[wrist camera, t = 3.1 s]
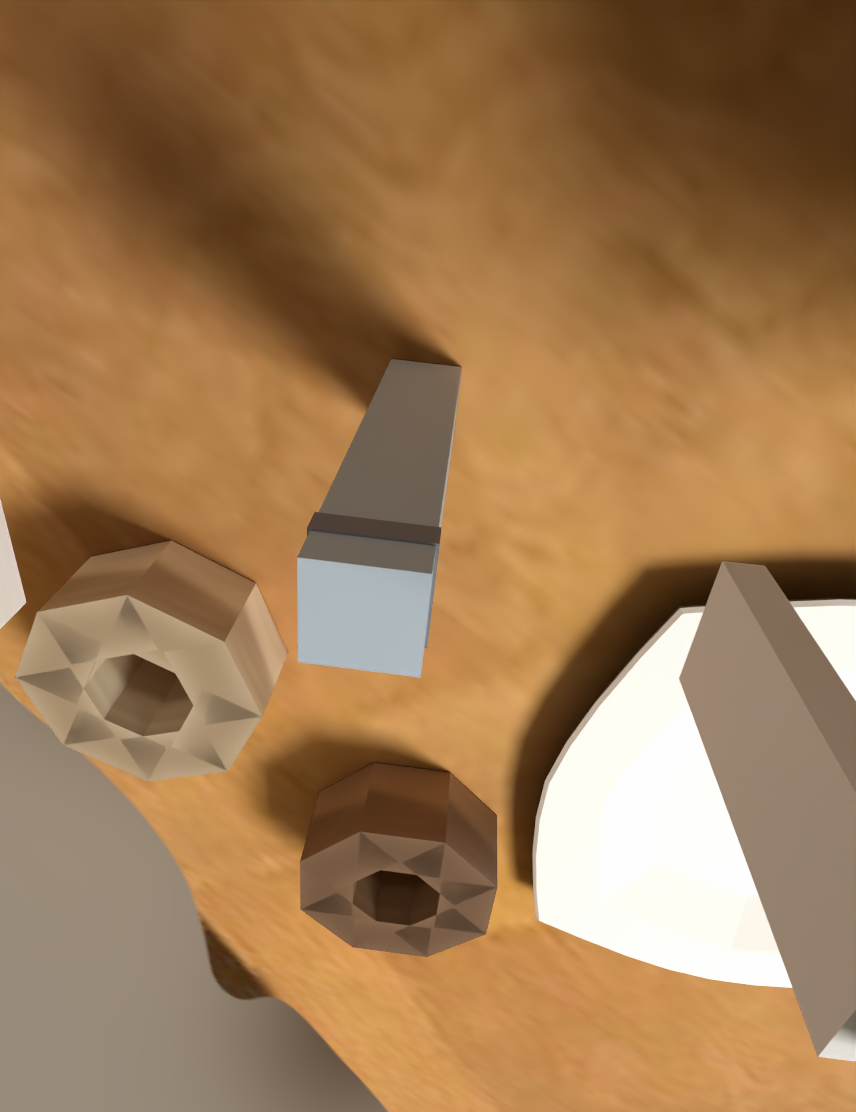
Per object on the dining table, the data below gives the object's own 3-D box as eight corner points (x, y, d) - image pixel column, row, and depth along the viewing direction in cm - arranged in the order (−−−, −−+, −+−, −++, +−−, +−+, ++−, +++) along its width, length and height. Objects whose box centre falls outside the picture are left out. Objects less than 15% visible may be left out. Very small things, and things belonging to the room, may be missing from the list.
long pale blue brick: (389, 357, 21) (294, 554, 11) (463, 365, 21) (435, 571, 11) (385, 427, 23) (295, 663, 12) (454, 435, 23) (422, 679, 12)
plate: (1262, 643, 25) (1319, 680, 23) (910, 981, 37) (930, 1021, 35) (631, 515, 24) (641, 543, 22) (483, 901, 36) (482, 938, 34)
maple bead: (36, 568, 27) (-24, 623, 24) (230, 528, 25) (194, 582, 22) (134, 723, 31) (94, 788, 28) (307, 697, 29) (285, 763, 26)
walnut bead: (319, 755, 31) (300, 823, 28) (504, 779, 31) (506, 850, 28) (317, 870, 35) (300, 940, 32) (480, 891, 35) (478, 963, 32)
